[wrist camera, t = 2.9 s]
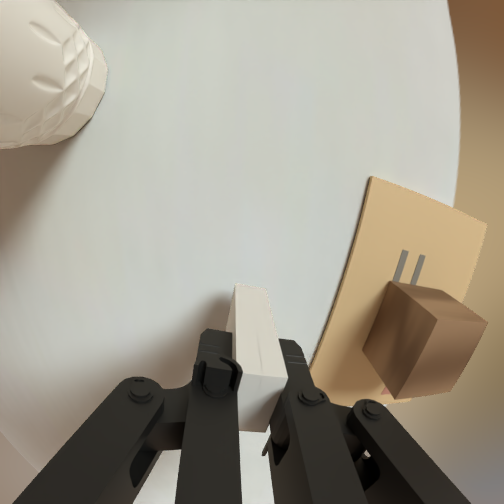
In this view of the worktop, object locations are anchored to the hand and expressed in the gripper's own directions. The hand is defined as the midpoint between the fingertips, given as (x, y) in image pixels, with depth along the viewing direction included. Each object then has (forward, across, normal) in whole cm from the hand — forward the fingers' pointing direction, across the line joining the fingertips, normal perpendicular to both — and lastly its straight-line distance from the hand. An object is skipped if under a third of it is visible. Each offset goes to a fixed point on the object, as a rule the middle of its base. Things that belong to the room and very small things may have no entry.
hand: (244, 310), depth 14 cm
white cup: (+2, -13, +10) cm, 17 cm away
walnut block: (+1, +11, 0) cm, 11 cm away
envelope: (+2, +11, 0) cm, 11 cm away
